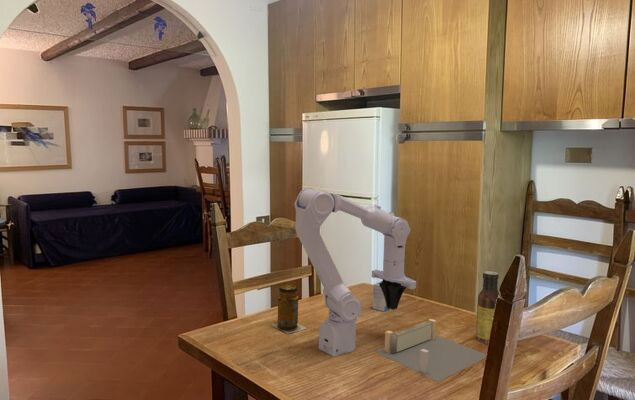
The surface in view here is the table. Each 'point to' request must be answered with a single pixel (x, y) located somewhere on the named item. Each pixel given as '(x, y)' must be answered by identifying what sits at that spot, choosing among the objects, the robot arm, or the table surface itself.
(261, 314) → the table surface
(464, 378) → the table surface
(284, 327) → the condiment
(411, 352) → the grey square baseplate
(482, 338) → the sauce bottle
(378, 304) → the medicine box
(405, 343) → the gate
